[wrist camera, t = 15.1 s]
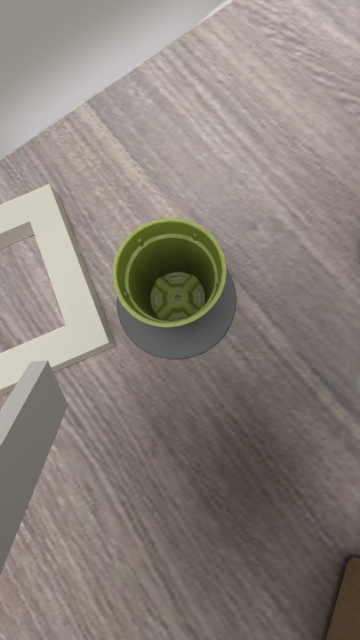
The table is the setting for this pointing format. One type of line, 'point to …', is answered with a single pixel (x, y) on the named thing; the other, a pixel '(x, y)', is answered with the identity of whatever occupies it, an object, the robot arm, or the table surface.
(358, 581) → the wooden block
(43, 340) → the well board
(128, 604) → the table surface
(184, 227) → the plant pot
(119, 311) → the mat
